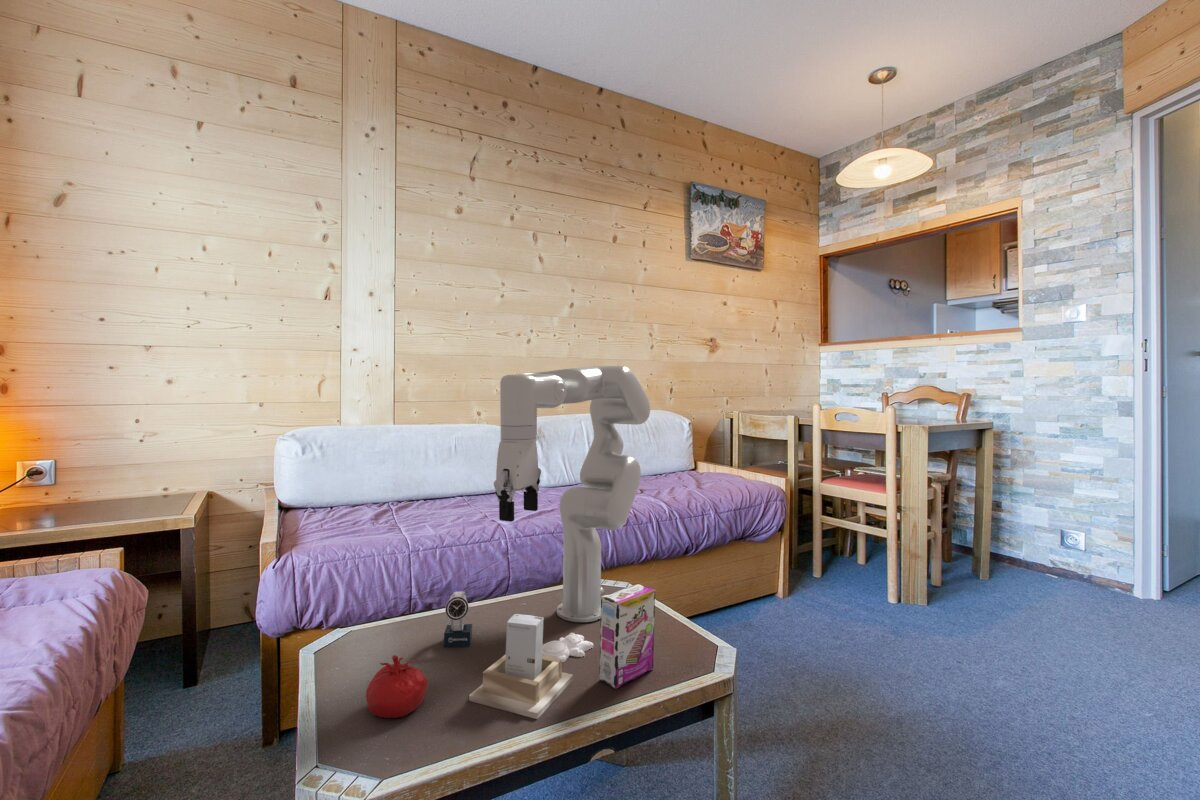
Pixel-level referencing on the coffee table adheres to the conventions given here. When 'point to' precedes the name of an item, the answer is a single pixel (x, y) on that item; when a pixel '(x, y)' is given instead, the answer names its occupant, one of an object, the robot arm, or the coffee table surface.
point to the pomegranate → (396, 689)
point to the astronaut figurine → (566, 647)
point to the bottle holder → (522, 688)
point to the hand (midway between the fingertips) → (519, 515)
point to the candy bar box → (626, 634)
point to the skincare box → (524, 646)
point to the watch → (457, 622)
